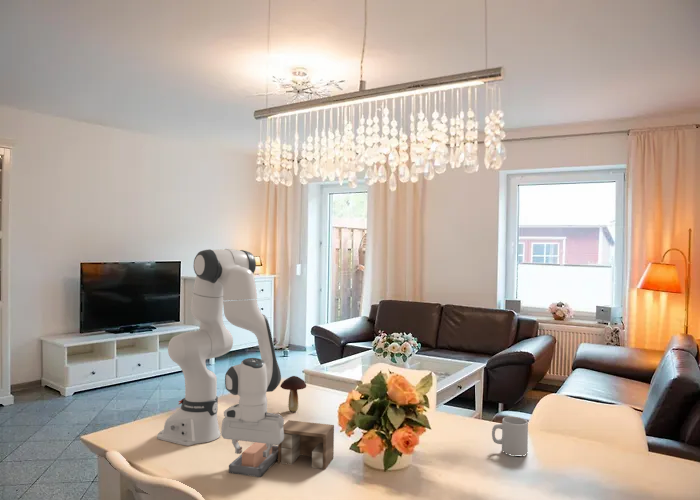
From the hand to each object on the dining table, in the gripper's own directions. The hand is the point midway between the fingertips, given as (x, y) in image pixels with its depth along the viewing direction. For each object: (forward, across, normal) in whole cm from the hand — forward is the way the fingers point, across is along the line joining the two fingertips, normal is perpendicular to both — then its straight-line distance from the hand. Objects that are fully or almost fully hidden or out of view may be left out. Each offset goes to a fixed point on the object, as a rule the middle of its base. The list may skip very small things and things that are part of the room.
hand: (252, 454), depth 162 cm
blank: (+4, 0, -4) cm, 5 cm away
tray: (+4, 0, -4) cm, 6 cm away
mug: (+4, -80, -37) cm, 88 cm away
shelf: (+4, -14, -10) cm, 18 cm away
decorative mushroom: (+4, +8, -56) cm, 57 cm away
